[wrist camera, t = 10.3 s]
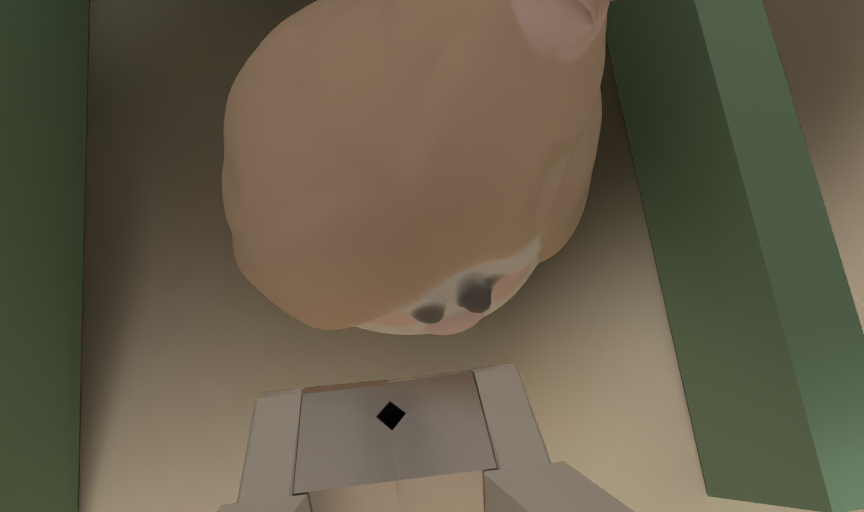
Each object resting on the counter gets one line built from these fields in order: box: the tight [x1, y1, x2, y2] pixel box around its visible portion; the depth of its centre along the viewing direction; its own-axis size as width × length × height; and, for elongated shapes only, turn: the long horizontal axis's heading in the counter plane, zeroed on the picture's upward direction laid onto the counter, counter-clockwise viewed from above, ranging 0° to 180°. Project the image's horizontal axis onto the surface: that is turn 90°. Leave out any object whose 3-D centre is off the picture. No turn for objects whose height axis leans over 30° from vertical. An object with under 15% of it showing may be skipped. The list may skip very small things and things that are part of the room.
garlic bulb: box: [222, 0, 615, 335], centre depth 11 cm, size 7×6×8 cm
